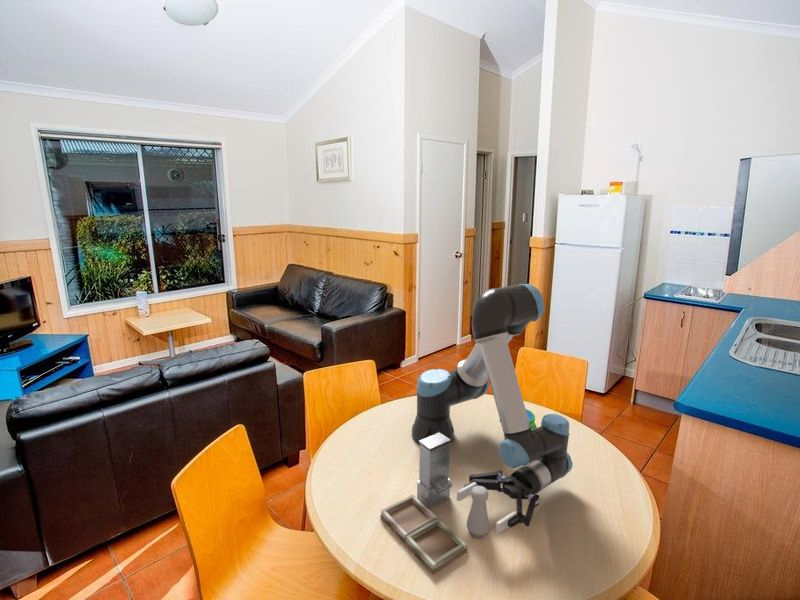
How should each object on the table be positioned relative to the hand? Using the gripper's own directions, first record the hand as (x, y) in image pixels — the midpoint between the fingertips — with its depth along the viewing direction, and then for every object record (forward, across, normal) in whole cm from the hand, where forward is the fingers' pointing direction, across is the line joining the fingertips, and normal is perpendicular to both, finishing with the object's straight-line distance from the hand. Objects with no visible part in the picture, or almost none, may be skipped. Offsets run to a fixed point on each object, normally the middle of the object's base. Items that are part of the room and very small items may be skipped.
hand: (476, 511), depth 110 cm
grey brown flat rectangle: (+11, +9, -8) cm, 16 cm away
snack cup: (-44, +22, -8) cm, 49 cm away
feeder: (0, +16, -7) cm, 17 cm away
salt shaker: (-1, 0, -8) cm, 8 cm away
